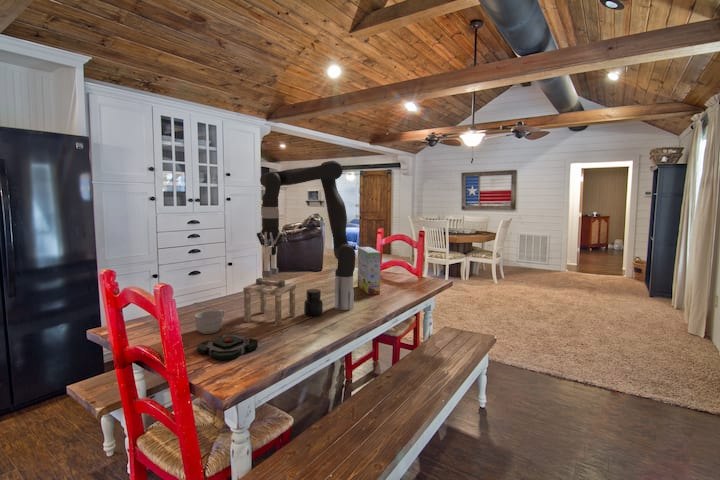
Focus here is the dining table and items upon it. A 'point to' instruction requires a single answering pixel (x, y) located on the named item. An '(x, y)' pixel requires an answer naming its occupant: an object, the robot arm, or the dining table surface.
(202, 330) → the teacup
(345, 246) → the robot arm
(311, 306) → the ink bottle
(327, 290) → the dining table surface
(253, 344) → the four-lobed dark green device
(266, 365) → the dining table surface
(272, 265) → the white rectangular prism
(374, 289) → the snack box
